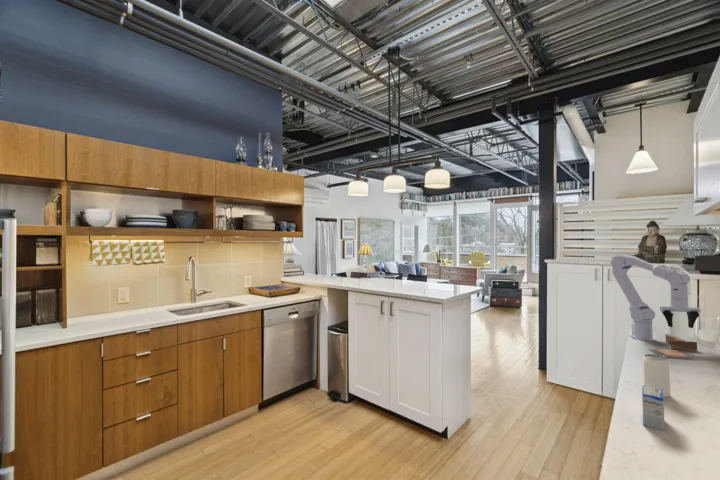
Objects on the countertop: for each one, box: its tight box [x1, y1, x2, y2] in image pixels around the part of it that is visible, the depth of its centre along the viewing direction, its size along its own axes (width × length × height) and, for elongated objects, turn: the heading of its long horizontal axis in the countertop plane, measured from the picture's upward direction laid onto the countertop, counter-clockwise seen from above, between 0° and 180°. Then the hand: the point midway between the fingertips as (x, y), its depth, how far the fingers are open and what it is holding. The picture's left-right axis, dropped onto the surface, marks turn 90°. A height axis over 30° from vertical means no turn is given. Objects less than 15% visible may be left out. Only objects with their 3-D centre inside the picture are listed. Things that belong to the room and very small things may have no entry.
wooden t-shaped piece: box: [665, 333, 698, 352], centre depth 160 cm, size 13×9×4 cm
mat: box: [648, 348, 696, 361], centre depth 149 cm, size 12×12×1 cm
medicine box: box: [641, 384, 665, 431], centre depth 94 cm, size 8×4×9 cm, turn 141°
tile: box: [656, 348, 688, 360], centre depth 148 cm, size 1×7×8 cm
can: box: [642, 353, 671, 399], centre depth 112 cm, size 6×6×12 cm
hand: (680, 327), depth 160 cm, fingers open, 7 cm apart
